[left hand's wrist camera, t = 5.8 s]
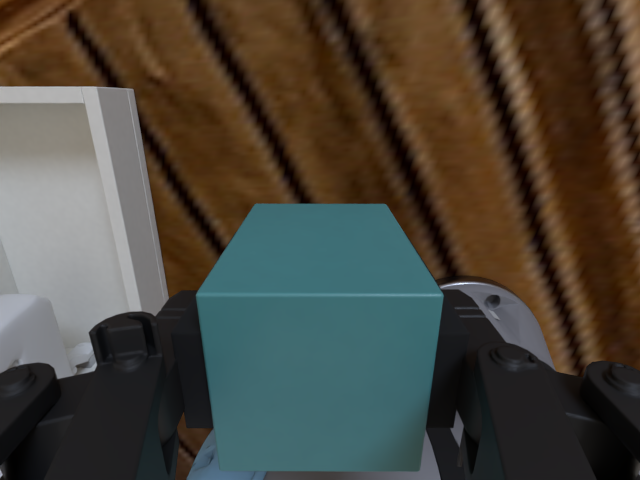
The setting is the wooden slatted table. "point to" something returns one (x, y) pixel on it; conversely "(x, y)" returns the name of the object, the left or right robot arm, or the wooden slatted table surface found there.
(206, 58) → the wooden slatted table surface
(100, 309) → the tray
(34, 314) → the right robot arm
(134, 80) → the wooden slatted table surface
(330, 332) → the block
